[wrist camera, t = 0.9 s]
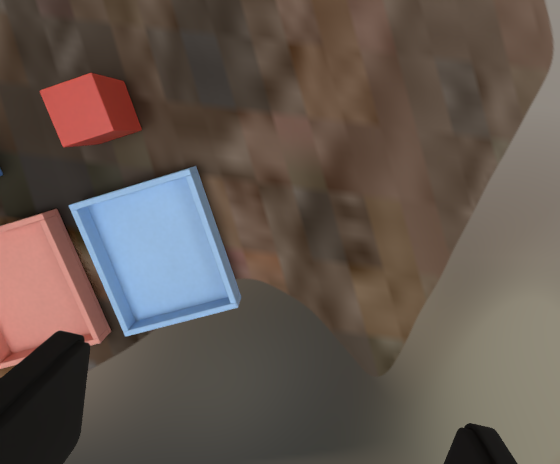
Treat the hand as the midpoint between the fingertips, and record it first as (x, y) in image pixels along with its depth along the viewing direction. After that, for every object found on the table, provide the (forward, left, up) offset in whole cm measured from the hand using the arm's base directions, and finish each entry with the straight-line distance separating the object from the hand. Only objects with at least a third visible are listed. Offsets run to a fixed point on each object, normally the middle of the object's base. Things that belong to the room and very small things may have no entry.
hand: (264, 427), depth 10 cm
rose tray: (-13, -26, -30) cm, 42 cm away
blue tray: (-6, -13, -30) cm, 33 cm away
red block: (-18, -6, -30) cm, 35 cm away
